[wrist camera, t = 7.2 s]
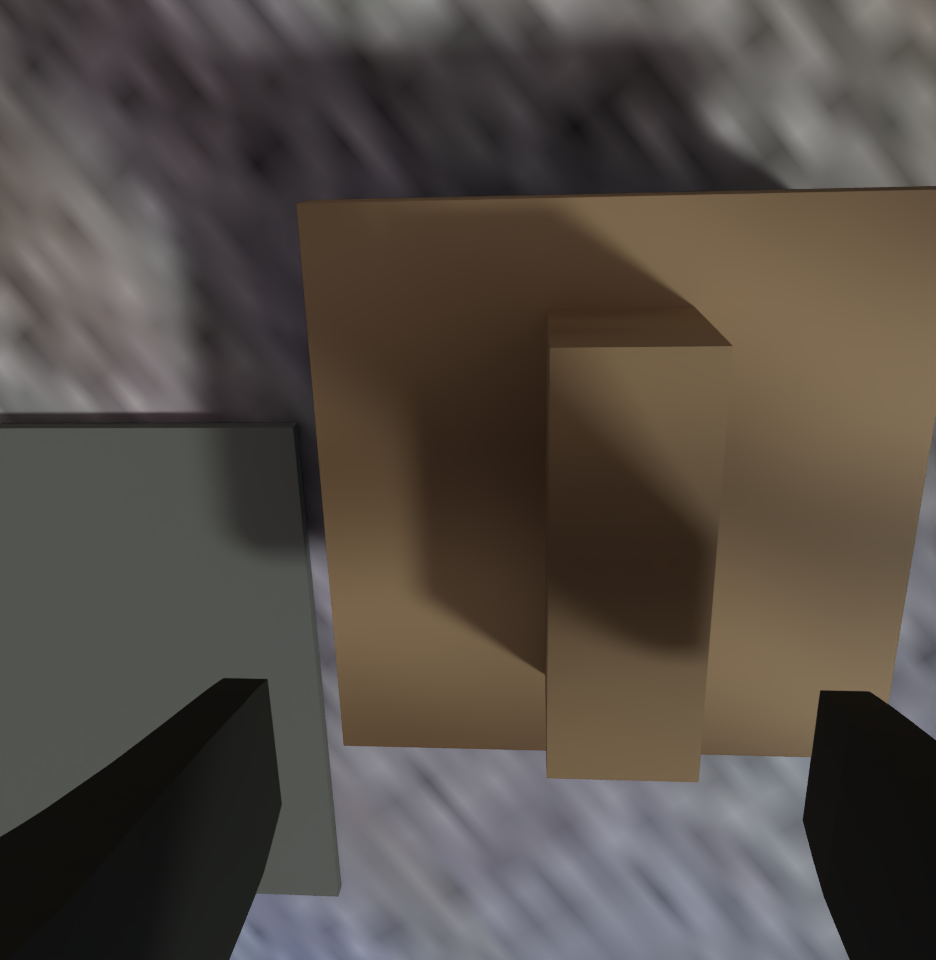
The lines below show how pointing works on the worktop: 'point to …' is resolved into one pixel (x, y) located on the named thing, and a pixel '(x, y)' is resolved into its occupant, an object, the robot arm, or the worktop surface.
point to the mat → (158, 610)
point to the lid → (618, 464)
